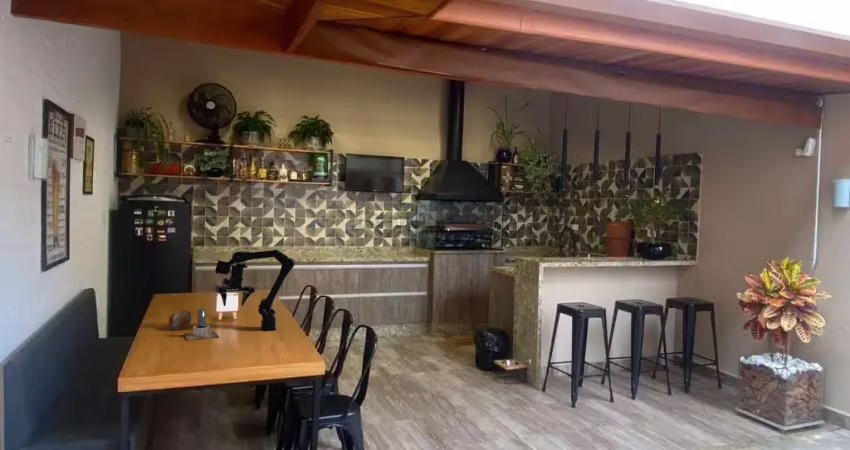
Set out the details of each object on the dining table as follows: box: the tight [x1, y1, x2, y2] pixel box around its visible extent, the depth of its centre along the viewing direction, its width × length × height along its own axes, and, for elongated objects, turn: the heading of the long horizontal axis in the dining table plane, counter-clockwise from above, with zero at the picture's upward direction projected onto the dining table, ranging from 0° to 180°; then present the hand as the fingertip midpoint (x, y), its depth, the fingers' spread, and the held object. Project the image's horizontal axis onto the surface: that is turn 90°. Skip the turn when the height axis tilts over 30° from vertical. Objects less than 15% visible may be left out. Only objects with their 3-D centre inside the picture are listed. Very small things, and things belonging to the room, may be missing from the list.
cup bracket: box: [192, 324, 211, 337], centre depth 267 cm, size 7×7×4 cm
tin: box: [168, 310, 192, 331], centre depth 283 cm, size 15×3×8 cm, turn 168°
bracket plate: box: [183, 330, 220, 341], centre depth 267 cm, size 14×12×1 cm
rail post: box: [196, 308, 207, 328], centre depth 267 cm, size 4×4×12 cm
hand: (233, 305), depth 284 cm, fingers open, 9 cm apart
